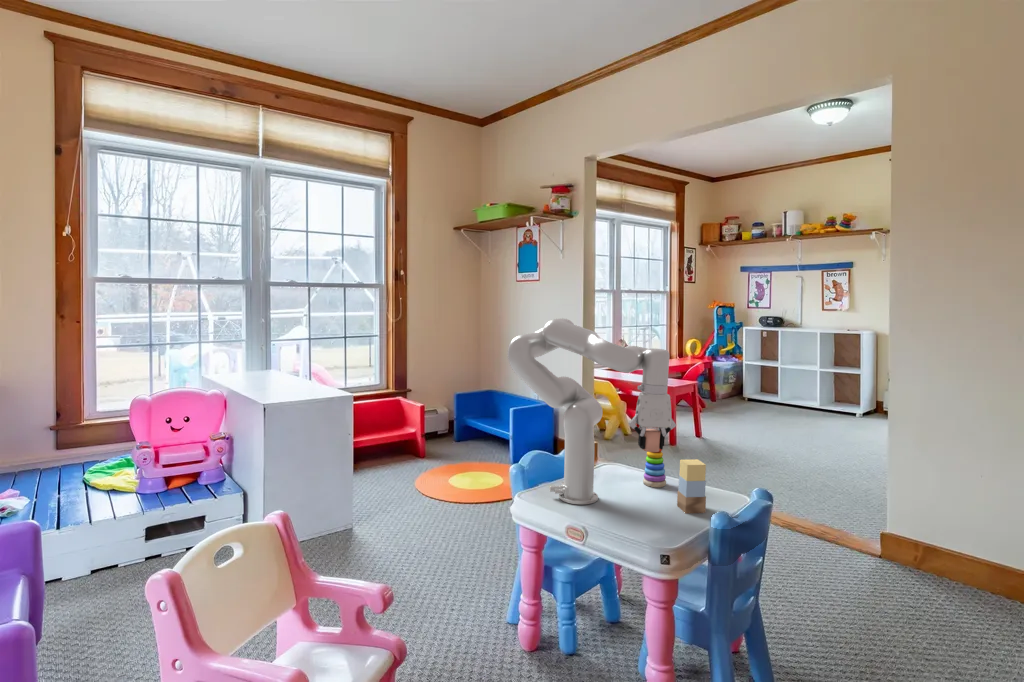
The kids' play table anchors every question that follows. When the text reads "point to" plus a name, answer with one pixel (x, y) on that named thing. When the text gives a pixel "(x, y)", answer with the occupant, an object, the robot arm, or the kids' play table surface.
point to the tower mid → (692, 488)
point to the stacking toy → (654, 470)
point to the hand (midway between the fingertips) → (650, 447)
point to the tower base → (691, 503)
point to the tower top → (692, 470)
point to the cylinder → (652, 440)
